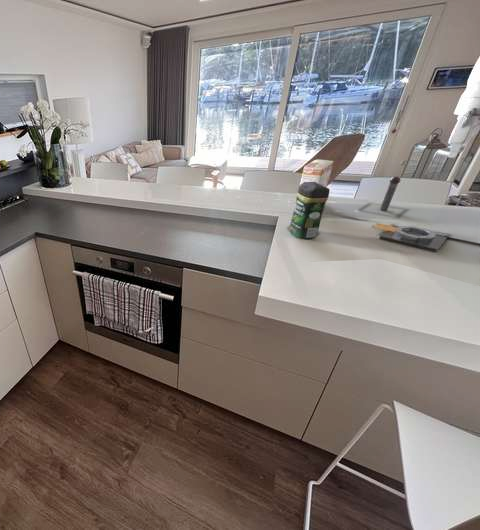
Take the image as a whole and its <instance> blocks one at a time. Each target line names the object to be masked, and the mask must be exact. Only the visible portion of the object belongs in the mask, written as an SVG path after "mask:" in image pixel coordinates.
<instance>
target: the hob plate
mask: <svg viewBox="0 0 480 530" xmlns="http://www.w3.org/2000/svg"><path fill="white" fill-rule="evenodd" d="M392 226H394V227H400V226H398V225H392ZM403 232H405V233H407V234H411V235H415V236H425V235H424V234H421V233H416V232H412V231H403ZM435 234H436V236H435V238H434V239H433V240H432V241H430V242H417V241H412V240H408V239H403V238H400V237H399V236H397V235H396V234H394V232H392V231H387V230H385V231H384V232H383V233H382V234H380V236H379V240H383V241H388V242H390V243H391V242H392V243H395V244H399V245H404V246H408V247H412V248H417V249H420V250H425V251H429V252H433V253H437V251H438V250H440V248H441V247H442V245H443V244H444V243H445V242H446V240H447V239H448V238H449V236H447V235H443V234H437V233H435Z"/></svg>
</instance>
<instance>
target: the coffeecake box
mask: <svg viewBox="0 0 480 530" xmlns="http://www.w3.org/2000/svg"><path fill="white" fill-rule="evenodd" d="M333 164H334V160H327V159H315V160H313V161H311V162H309V163H308V164H307V165H304V166H303V170H302V174H301V179H300V183H299V186H300V185H301V184H302V183H304V182H316V183H318V184H320V185H323V186H325V187H327V188H328V183H329V180H330V176H331V173H332V169H333V166H334V165H333Z"/></svg>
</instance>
